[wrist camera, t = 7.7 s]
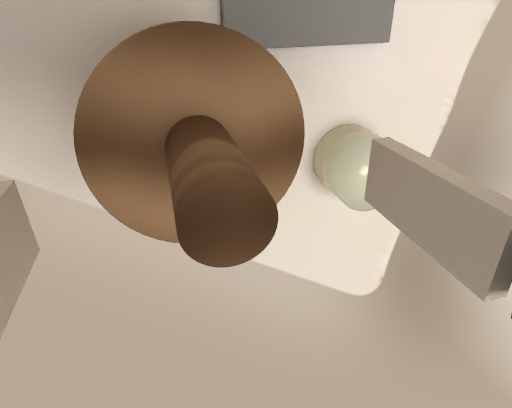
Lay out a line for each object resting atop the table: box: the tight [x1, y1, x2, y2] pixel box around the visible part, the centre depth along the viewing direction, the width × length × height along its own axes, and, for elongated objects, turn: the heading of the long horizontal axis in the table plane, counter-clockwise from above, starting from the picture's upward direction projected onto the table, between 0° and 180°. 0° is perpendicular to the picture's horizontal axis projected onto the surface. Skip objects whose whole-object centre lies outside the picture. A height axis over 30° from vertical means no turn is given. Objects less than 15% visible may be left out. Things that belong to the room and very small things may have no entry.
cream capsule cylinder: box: [313, 124, 381, 211], centre depth 31 cm, size 6×6×5 cm
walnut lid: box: [74, 21, 305, 267], centre depth 15 cm, size 11×11×8 cm
